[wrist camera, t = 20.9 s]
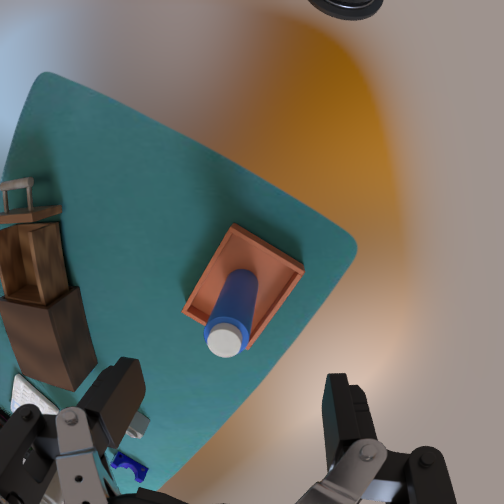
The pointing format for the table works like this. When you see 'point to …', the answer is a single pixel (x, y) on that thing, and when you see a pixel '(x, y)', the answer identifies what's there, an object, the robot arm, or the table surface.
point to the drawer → (31, 251)
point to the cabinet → (51, 339)
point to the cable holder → (126, 462)
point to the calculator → (30, 397)
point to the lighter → (138, 426)
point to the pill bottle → (232, 314)
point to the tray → (255, 260)
